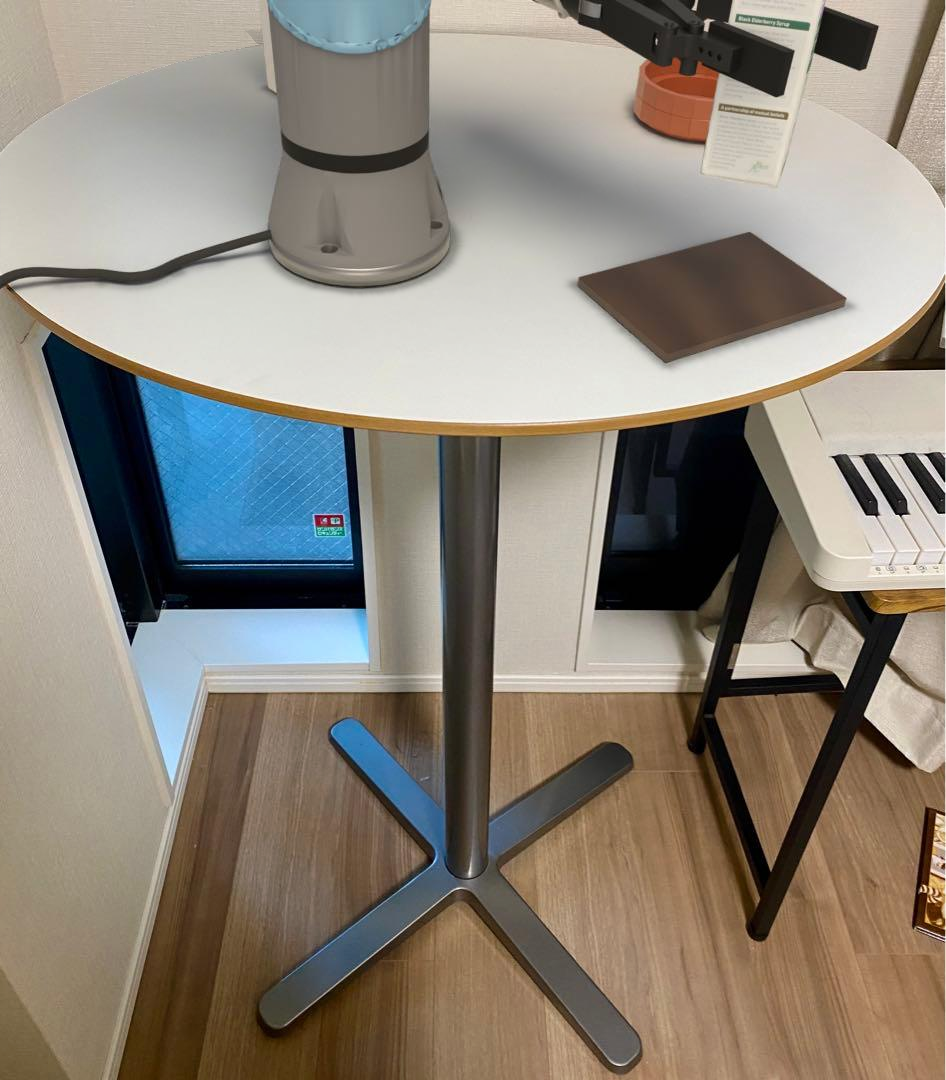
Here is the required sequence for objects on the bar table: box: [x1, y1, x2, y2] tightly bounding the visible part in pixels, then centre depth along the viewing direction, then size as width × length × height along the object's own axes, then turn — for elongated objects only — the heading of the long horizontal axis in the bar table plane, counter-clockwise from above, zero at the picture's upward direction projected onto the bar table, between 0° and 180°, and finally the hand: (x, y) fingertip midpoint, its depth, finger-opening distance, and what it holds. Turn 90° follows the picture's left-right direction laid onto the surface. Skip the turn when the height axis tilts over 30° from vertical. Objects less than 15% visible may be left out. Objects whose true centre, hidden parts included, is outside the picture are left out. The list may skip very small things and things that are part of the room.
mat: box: [577, 231, 847, 363], centre depth 80 cm, size 18×12×1 cm, turn 119°
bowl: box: [633, 58, 719, 143], centre depth 104 cm, size 13×13×4 cm
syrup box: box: [700, 0, 826, 189], centre depth 68 cm, size 6×6×14 cm
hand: (828, 61), depth 64 cm, fingers closed on syrup box, 8 cm apart
